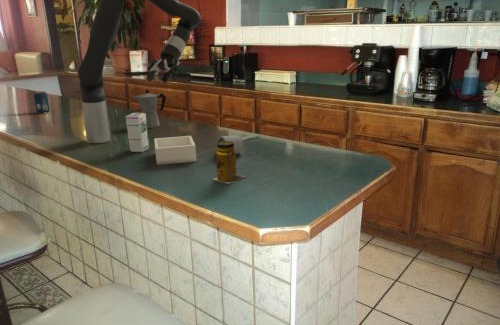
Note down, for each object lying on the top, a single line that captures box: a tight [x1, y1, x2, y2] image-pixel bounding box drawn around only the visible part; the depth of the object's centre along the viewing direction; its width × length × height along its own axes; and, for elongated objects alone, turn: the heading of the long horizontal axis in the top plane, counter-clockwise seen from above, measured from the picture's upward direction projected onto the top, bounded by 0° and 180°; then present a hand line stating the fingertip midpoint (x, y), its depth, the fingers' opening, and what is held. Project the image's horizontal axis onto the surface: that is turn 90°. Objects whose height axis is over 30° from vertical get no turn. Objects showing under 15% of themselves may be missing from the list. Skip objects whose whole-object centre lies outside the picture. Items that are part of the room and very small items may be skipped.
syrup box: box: [125, 112, 150, 153], centre depth 155 cm, size 6×6×14 cm
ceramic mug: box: [216, 134, 245, 155], centre depth 150 cm, size 11×8×8 cm
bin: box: [154, 135, 197, 166], centre depth 147 cm, size 14×14×6 cm
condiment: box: [212, 141, 247, 185], centre depth 125 cm, size 7×8×12 cm
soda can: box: [33, 91, 51, 114], centre depth 229 cm, size 7×7×12 cm
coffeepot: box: [133, 89, 167, 129], centre depth 194 cm, size 15×9×18 cm, turn 113°
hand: (155, 81), depth 159 cm, fingers open, 8 cm apart
